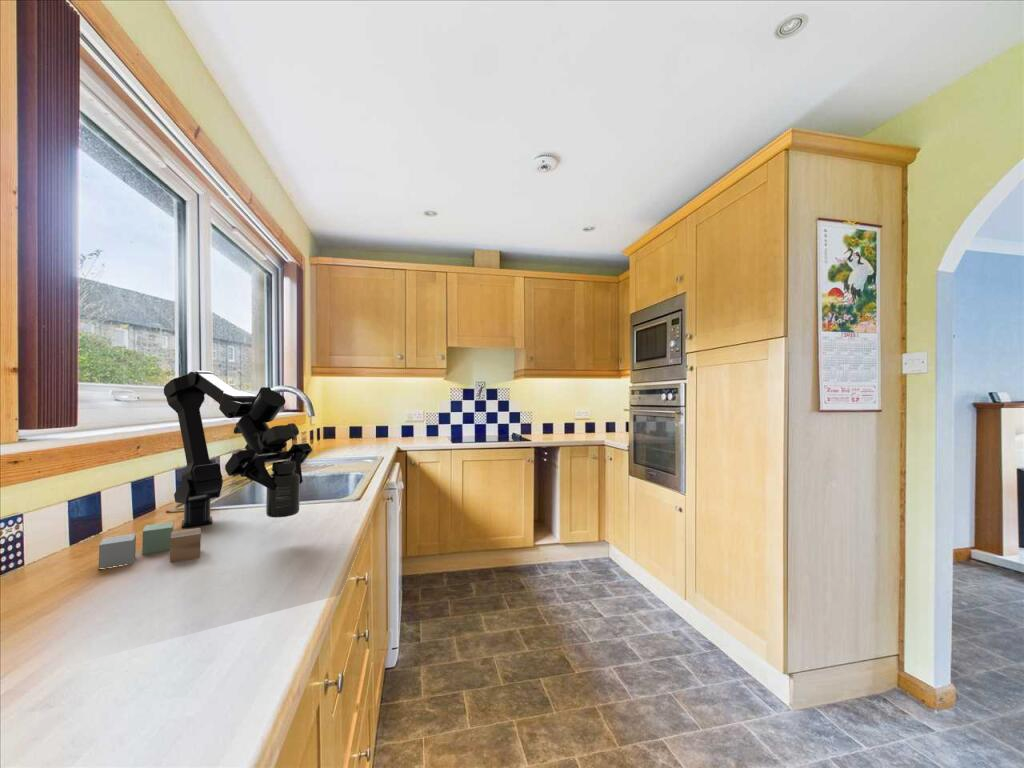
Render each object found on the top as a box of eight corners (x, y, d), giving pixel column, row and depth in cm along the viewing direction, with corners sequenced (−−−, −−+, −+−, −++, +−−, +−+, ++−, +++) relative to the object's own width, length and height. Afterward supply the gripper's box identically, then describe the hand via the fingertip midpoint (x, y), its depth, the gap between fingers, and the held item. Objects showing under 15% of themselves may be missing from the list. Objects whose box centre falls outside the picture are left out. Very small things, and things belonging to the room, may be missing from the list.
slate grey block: (102, 562, 88) (103, 538, 88) (135, 557, 91) (135, 533, 91) (98, 570, 84) (99, 545, 84) (132, 564, 87) (133, 539, 87)
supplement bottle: (305, 510, 103) (306, 460, 103) (287, 518, 96) (289, 464, 96) (278, 509, 103) (279, 459, 104) (258, 517, 96) (260, 463, 97)
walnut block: (171, 555, 92) (171, 531, 92) (200, 550, 95) (200, 527, 95) (169, 562, 88) (170, 538, 88) (200, 557, 91) (200, 533, 91)
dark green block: (144, 548, 96) (145, 525, 96) (173, 543, 99) (173, 521, 99) (142, 554, 92) (142, 531, 92) (171, 550, 95) (172, 527, 95)
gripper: (234, 414, 93) (266, 469, 88) (308, 411, 110) (338, 457, 105) (211, 447, 97) (241, 503, 92) (286, 440, 113) (315, 486, 108)
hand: (287, 485), depth 99 cm, fingers closed on supplement bottle, 7 cm apart
